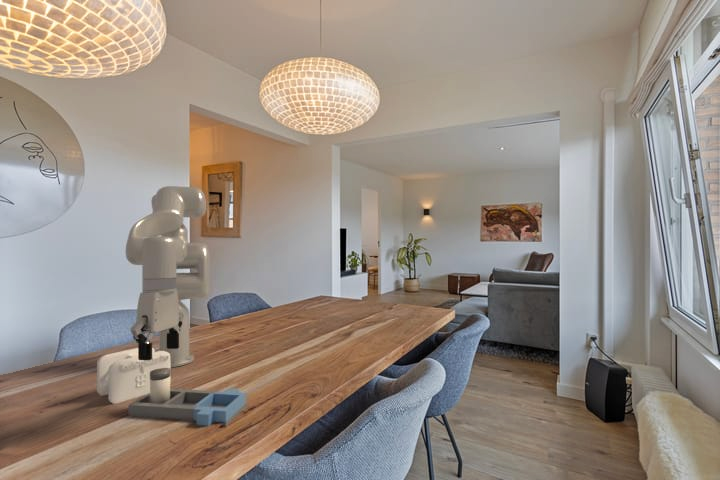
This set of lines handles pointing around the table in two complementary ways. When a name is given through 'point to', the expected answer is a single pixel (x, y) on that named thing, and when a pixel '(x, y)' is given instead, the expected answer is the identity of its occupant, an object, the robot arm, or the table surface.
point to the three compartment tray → (193, 406)
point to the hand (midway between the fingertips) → (159, 353)
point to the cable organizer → (127, 374)
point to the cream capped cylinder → (160, 385)
